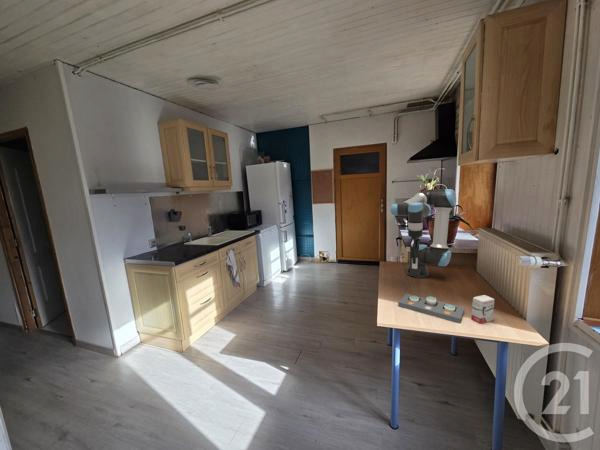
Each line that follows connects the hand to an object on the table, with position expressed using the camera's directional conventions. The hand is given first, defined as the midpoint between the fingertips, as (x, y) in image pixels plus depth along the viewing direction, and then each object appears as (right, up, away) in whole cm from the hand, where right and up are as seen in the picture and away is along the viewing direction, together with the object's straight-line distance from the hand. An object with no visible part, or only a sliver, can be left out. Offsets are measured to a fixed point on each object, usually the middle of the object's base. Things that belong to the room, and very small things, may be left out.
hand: (414, 268), depth 144 cm
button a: (-1, -20, -2) cm, 20 cm away
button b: (+5, -19, -8) cm, 21 cm away
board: (+4, -21, -9) cm, 23 cm away
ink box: (+24, -23, -22) cm, 39 cm away
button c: (+12, -21, -14) cm, 28 cm away
